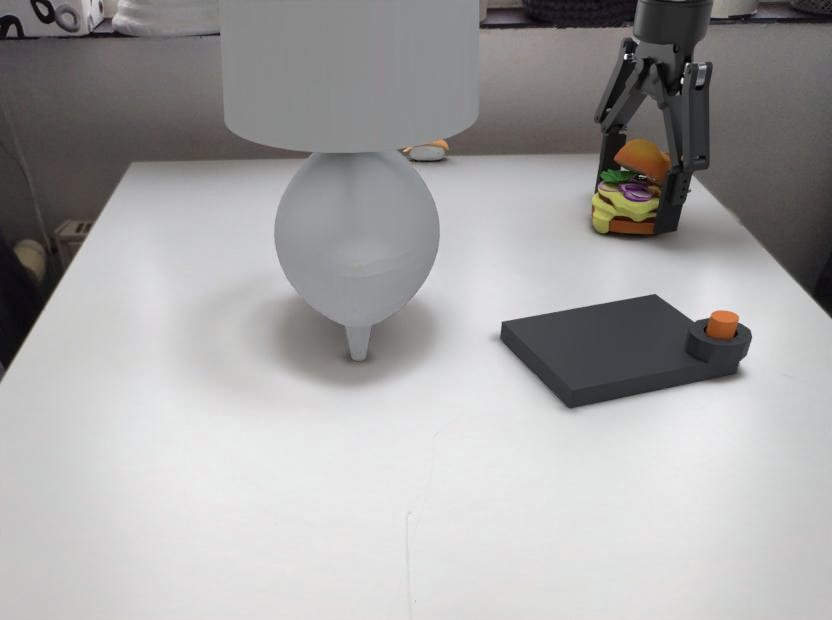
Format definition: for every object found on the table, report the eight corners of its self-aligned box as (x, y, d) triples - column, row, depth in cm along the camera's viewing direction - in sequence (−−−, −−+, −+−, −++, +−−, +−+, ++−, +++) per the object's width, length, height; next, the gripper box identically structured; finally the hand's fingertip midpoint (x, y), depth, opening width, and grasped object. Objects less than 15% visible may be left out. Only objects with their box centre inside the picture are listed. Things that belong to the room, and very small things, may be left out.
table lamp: (475, 383, 81) (527, -234, 52) (238, 389, 81) (161, -223, 53) (453, 278, 97) (484, -237, 69) (255, 283, 97) (204, -229, 69)
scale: (661, 308, 91) (669, 274, 88) (752, 375, 81) (764, 338, 78) (499, 338, 87) (503, 303, 84) (574, 412, 77) (581, 375, 74)
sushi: (448, 162, 124) (449, 138, 122) (402, 162, 125) (403, 138, 123) (448, 156, 126) (449, 132, 124) (402, 156, 127) (403, 133, 124)
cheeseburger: (565, 218, 108) (594, 126, 102) (628, 224, 113) (659, 137, 107) (620, 245, 102) (654, 148, 96) (684, 250, 107) (720, 158, 101)
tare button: (723, 326, 81) (728, 308, 80) (739, 338, 79) (745, 319, 78) (700, 331, 80) (705, 312, 79) (716, 342, 79) (721, 324, 77)
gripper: (584, -25, 98) (556, 182, 114) (717, 20, 82) (663, 255, 97) (643, -30, 100) (608, 175, 115) (786, 13, 83) (722, 245, 99)
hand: (633, 212), depth 106 cm, fingers open, 12 cm apart
